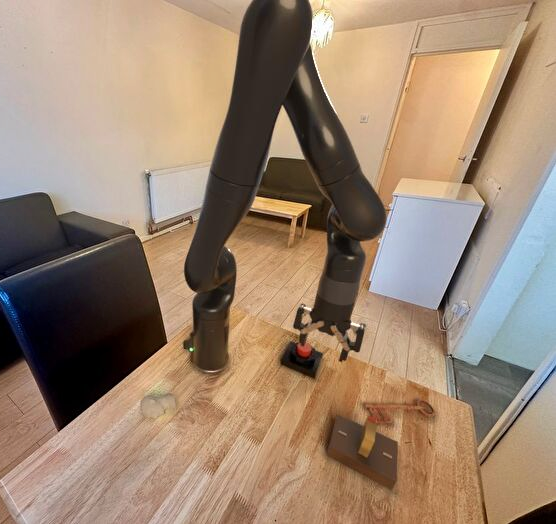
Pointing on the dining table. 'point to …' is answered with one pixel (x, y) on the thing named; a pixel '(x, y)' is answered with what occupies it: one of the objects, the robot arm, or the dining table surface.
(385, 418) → the key
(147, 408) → the pale grey lumpy piece
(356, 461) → the lock plate
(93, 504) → the dining table surface
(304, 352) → the alarm button
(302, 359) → the alarm box
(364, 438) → the lock knob
